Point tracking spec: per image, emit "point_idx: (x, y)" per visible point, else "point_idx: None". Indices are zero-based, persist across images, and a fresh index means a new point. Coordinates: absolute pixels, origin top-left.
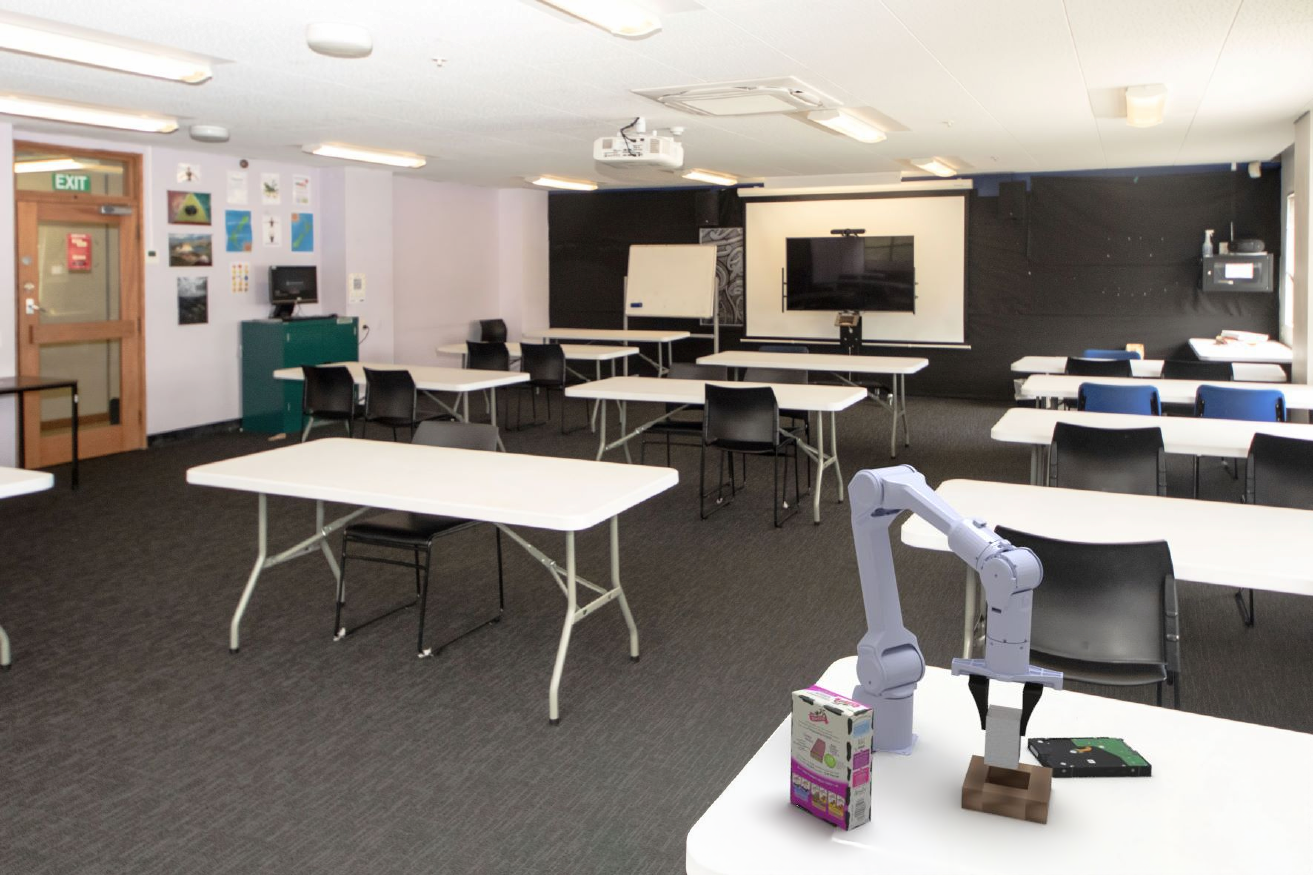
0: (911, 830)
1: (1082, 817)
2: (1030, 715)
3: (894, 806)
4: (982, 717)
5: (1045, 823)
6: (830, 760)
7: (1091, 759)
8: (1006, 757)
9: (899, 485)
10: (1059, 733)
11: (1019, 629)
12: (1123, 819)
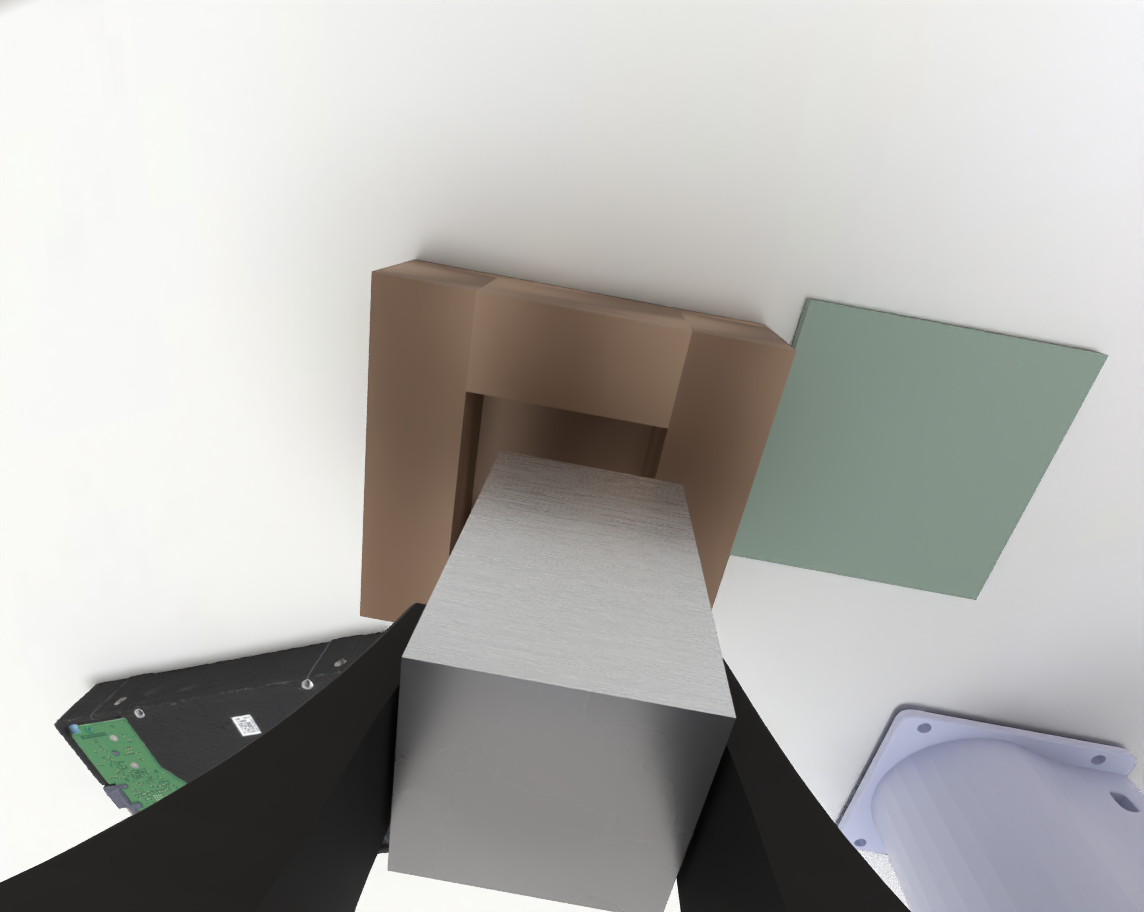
0: (1057, 60)
1: (280, 382)
2: (276, 724)
3: (1075, 302)
4: (750, 730)
5: (412, 262)
6: None
7: (246, 737)
8: (556, 490)
9: None
10: (375, 896)
11: None
12: (138, 399)
